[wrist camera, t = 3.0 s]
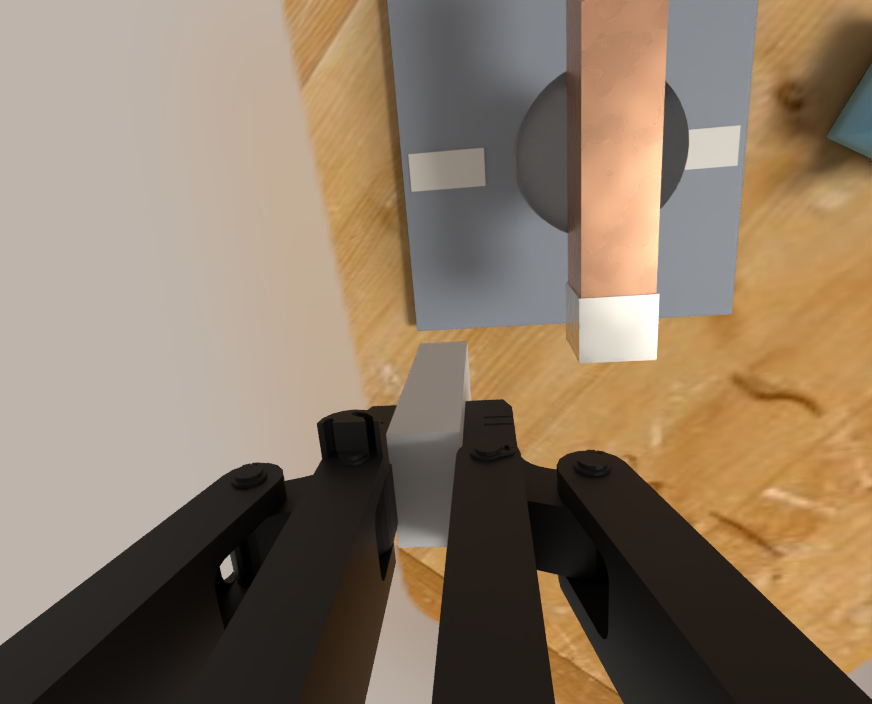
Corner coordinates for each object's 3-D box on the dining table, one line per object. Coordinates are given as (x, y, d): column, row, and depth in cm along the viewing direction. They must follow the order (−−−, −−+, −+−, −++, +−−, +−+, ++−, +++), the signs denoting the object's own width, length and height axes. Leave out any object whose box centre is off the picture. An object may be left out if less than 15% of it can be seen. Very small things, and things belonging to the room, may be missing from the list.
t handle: (506, -34, 27) (514, -107, 20) (677, -55, 26) (746, -138, 19) (518, 326, 32) (528, 365, 25) (660, 318, 31) (709, 357, 24)
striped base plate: (389, -6, 35) (362, -62, 27) (750, -49, 33) (838, -123, 25) (419, 325, 42) (404, 361, 33) (722, 309, 39) (784, 342, 31)
